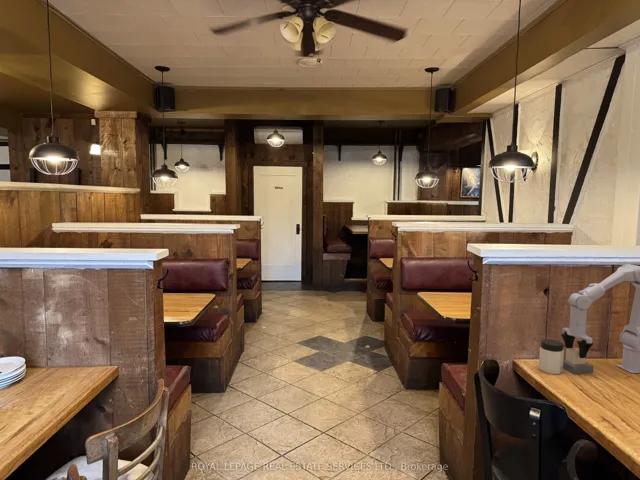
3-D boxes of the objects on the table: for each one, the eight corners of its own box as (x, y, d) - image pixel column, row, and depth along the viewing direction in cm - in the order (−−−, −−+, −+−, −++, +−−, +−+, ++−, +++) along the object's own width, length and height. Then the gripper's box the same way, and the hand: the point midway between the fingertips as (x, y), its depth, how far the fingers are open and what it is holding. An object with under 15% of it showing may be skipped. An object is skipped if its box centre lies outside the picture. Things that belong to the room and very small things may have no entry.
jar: (557, 376, 167) (559, 347, 166) (536, 370, 173) (537, 342, 172) (564, 370, 173) (566, 342, 172) (543, 364, 179) (545, 337, 178)
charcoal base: (576, 365, 180) (576, 357, 179) (592, 373, 171) (593, 365, 170) (557, 366, 178) (557, 358, 178) (573, 375, 169) (573, 366, 169)
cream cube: (576, 359, 177) (577, 347, 177) (585, 363, 172) (585, 352, 172) (565, 359, 177) (566, 348, 176) (573, 364, 172) (574, 352, 171)
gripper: (556, 318, 179) (555, 348, 181) (581, 328, 165) (579, 361, 166) (571, 317, 180) (570, 348, 182) (598, 327, 166) (595, 360, 167)
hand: (575, 354), depth 174 cm, fingers open, 7 cm apart
